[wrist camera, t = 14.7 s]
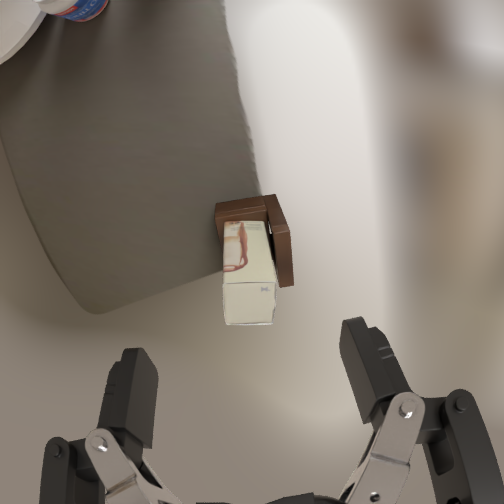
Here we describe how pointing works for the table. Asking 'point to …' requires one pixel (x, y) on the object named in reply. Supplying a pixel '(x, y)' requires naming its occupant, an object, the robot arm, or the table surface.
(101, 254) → the table surface
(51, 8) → the pill bottle
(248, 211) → the miniature wooden chair
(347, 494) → the robot arm
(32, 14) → the white domed disc
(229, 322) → the cream cosmetic box
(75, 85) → the table surface
